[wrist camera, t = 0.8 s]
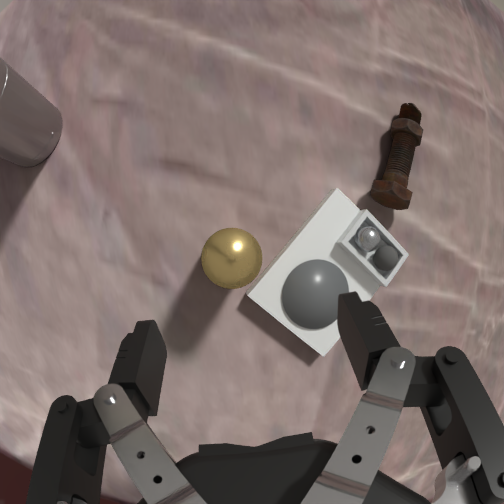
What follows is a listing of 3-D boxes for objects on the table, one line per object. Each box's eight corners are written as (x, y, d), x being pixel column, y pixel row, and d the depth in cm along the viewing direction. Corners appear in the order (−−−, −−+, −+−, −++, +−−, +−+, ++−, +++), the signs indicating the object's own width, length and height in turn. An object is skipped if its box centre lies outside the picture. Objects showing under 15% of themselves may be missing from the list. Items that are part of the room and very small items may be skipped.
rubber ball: (364, 259, 36) (376, 260, 33) (378, 240, 36) (391, 239, 33) (380, 274, 36) (393, 277, 33) (393, 256, 36) (407, 257, 33)
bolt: (402, 120, 40) (379, 207, 39) (386, 98, 37) (361, 189, 36) (435, 118, 35) (416, 212, 35) (422, 95, 32) (401, 193, 32)
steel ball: (345, 240, 35) (356, 240, 32) (360, 221, 35) (372, 219, 32) (362, 256, 36) (374, 258, 33) (376, 237, 36) (389, 237, 33)
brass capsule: (195, 256, 35) (188, 261, 25) (224, 222, 35) (228, 215, 26) (229, 284, 36) (235, 300, 26) (257, 251, 36) (274, 255, 26)
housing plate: (245, 292, 36) (249, 298, 32) (331, 190, 37) (342, 185, 33) (318, 351, 37) (328, 361, 34) (394, 254, 38) (409, 255, 35)
